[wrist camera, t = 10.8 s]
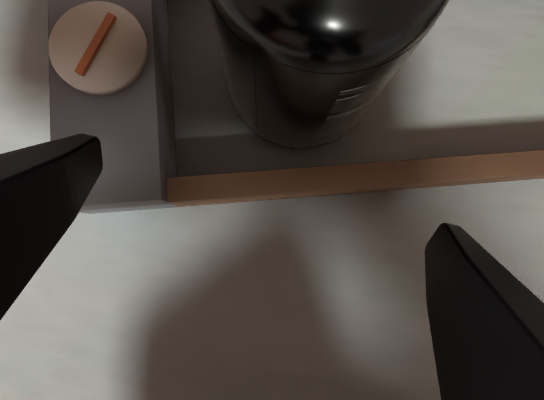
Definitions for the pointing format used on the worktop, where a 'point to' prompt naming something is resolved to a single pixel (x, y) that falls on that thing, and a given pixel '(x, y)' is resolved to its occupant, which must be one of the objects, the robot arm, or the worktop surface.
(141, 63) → the wooden frame
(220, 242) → the worktop surface
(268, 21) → the supplement bottle
